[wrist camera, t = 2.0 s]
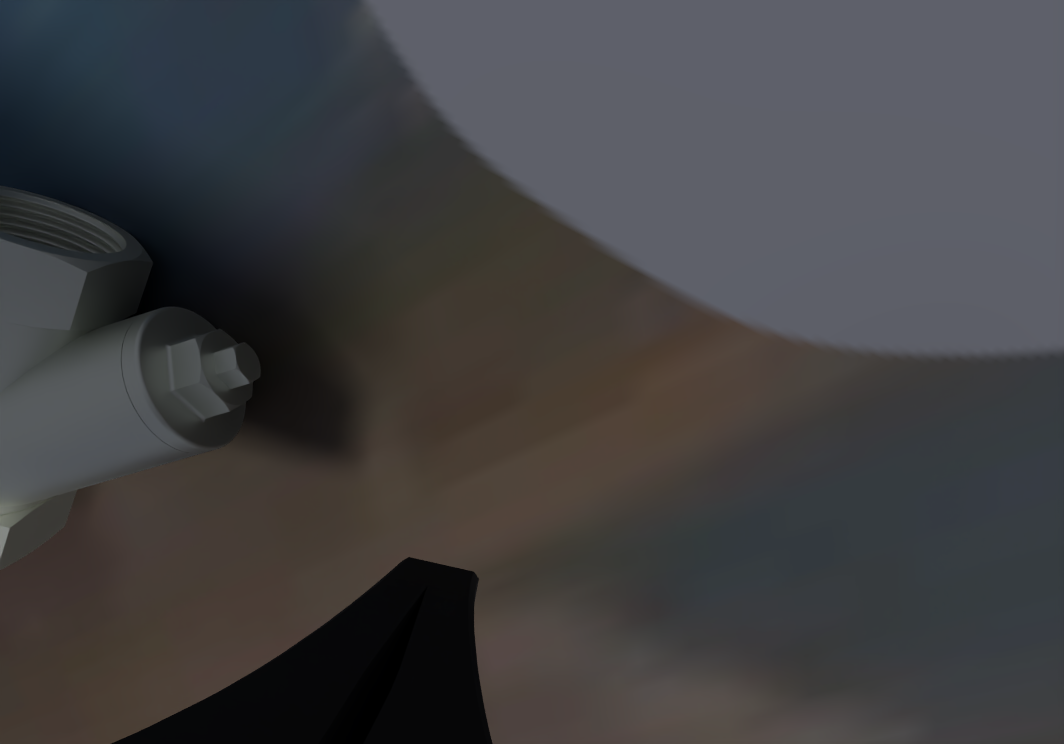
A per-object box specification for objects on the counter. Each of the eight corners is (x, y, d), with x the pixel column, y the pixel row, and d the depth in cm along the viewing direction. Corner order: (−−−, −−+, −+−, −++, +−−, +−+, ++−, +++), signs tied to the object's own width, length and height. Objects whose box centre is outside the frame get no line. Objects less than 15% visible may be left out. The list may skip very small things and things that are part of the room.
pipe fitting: (310, 318, 14) (45, 184, 14) (226, 358, 11) (-147, 177, 10) (206, 562, 16) (-30, 458, 16) (105, 668, 13) (-211, 538, 12)
